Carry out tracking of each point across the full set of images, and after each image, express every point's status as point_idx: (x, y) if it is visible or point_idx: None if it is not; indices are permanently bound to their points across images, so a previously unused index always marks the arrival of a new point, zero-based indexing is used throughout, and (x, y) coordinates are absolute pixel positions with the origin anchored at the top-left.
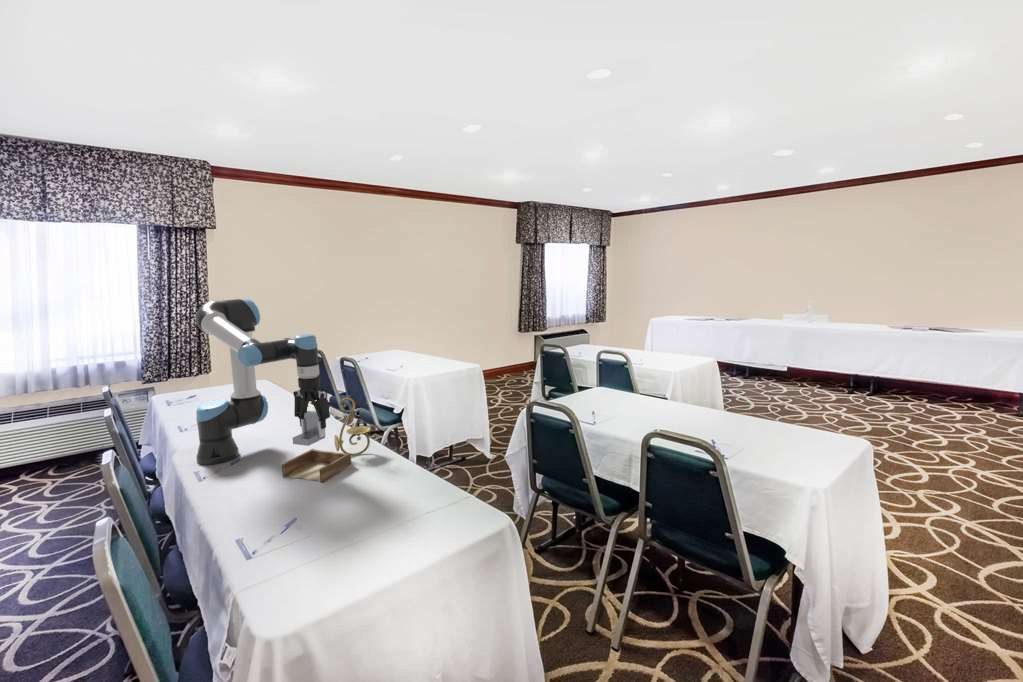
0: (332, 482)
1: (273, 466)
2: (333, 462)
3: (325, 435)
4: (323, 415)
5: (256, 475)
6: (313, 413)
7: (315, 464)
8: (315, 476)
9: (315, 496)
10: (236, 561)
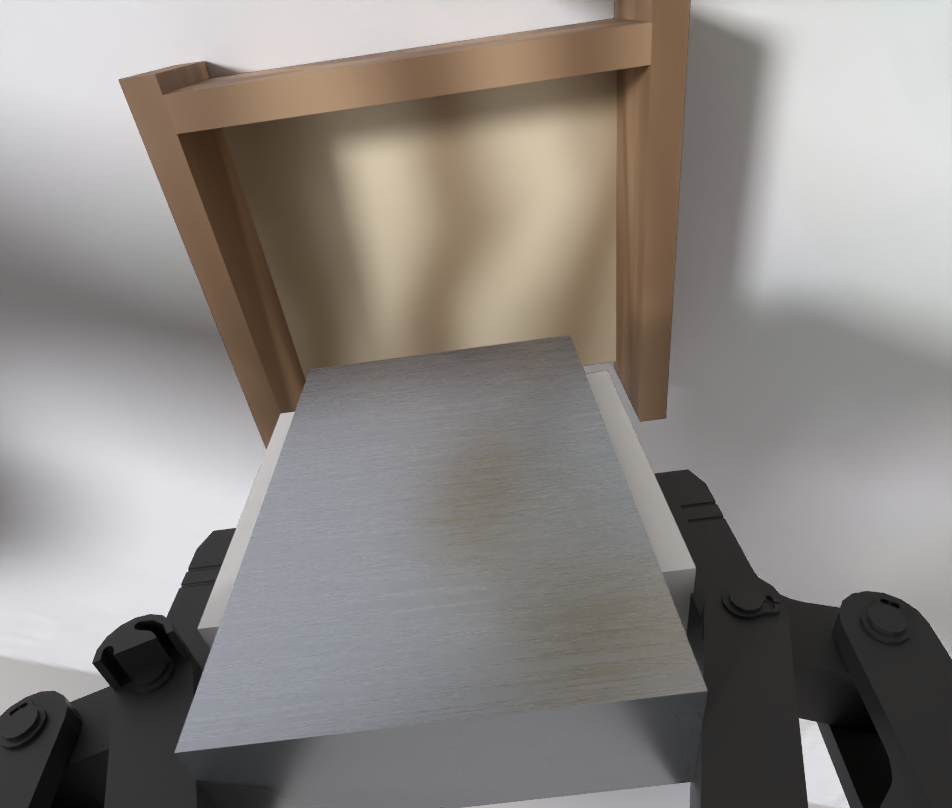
0: (692, 331)
1: (22, 320)
2: (659, 277)
3: (609, 375)
4: (859, 772)
5: (111, 460)
6: (534, 798)
7: (311, 156)
8: (518, 330)
9: (707, 486)
10: None
